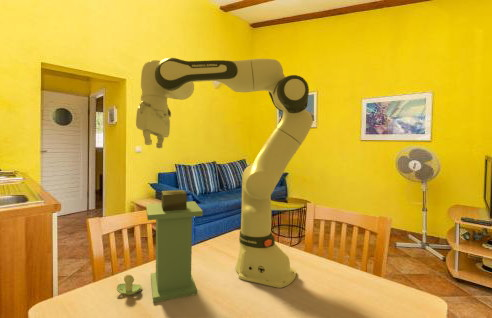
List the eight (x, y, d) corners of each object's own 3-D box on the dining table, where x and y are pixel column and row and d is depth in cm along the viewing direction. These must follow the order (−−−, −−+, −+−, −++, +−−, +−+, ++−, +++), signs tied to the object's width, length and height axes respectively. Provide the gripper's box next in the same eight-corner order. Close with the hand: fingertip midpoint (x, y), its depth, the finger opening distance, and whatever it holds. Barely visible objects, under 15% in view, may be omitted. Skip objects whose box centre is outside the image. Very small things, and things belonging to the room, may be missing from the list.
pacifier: (124, 286, 89) (114, 296, 83) (124, 267, 89) (114, 276, 83) (146, 287, 88) (137, 298, 82) (146, 268, 88) (137, 277, 82)
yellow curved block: (186, 209, 86) (186, 193, 85) (163, 211, 83) (163, 194, 83) (178, 197, 102) (178, 183, 102) (158, 198, 100) (158, 184, 99)
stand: (202, 293, 86) (203, 211, 84) (147, 303, 80) (147, 216, 78) (192, 271, 100) (194, 200, 97) (146, 278, 94) (146, 203, 91)
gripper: (150, 98, 86) (150, 142, 85) (172, 114, 106) (172, 149, 105) (130, 99, 86) (130, 142, 85) (156, 114, 107) (156, 150, 106)
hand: (154, 146), depth 95 cm, fingers open, 8 cm apart
